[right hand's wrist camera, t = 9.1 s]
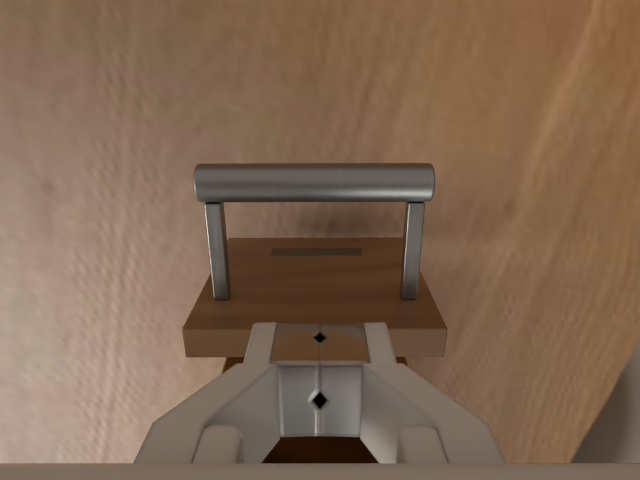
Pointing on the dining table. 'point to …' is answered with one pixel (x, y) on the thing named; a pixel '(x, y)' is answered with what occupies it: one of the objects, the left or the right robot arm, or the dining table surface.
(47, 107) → the dining table surface
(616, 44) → the dining table surface
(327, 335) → the right robot arm
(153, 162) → the dining table surface
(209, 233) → the drawer
